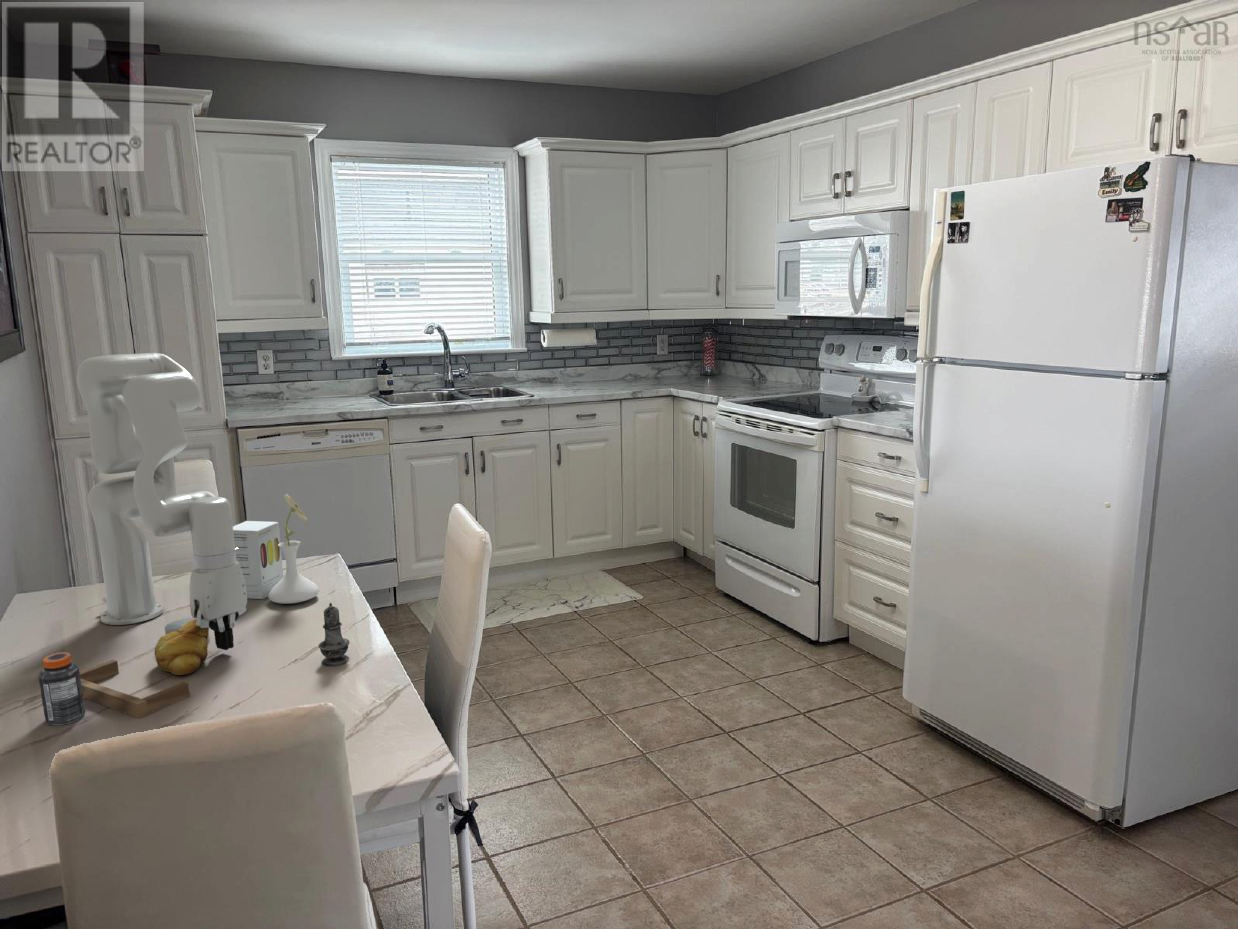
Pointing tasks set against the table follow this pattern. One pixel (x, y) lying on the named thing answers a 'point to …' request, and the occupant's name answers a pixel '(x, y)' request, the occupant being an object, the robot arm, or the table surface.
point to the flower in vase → (292, 569)
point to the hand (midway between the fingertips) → (225, 647)
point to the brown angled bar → (124, 700)
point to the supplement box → (259, 556)
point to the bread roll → (182, 649)
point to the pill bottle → (61, 690)
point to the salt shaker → (333, 639)
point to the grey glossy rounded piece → (179, 626)
